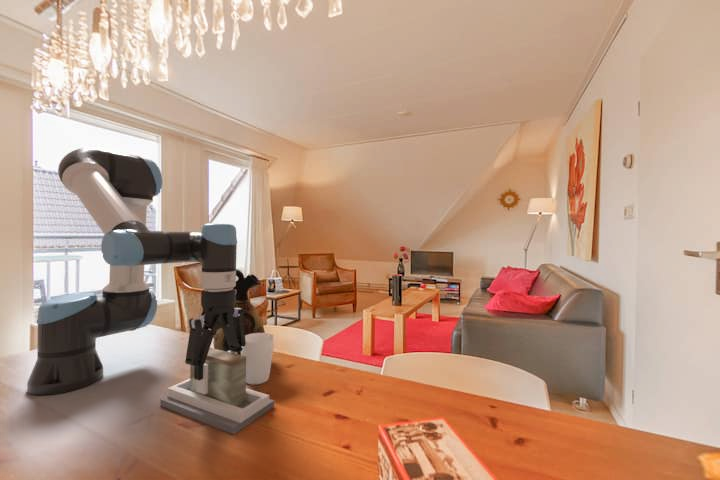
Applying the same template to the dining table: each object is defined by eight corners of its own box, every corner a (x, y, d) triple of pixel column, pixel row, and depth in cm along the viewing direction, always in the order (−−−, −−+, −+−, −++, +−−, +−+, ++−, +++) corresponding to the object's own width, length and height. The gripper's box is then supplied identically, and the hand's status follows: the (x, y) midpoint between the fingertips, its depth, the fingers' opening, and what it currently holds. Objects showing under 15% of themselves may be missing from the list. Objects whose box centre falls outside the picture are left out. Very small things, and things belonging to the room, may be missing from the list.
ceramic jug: (270, 354, 109) (271, 267, 109) (257, 373, 94) (258, 272, 93) (220, 354, 108) (221, 266, 108) (198, 373, 93) (200, 271, 93)
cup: (263, 388, 84) (264, 343, 84) (233, 385, 86) (233, 341, 86) (278, 374, 93) (279, 333, 93) (250, 371, 95) (251, 331, 95)
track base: (160, 405, 75) (160, 391, 75) (204, 384, 86) (204, 372, 86) (233, 434, 65) (234, 417, 65) (273, 406, 75) (274, 392, 75)
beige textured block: (190, 396, 76) (190, 351, 76) (204, 389, 80) (205, 346, 80) (231, 411, 70) (232, 362, 70) (245, 403, 74) (246, 356, 74)
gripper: (189, 297, 64) (188, 409, 64) (261, 284, 83) (260, 371, 83) (166, 294, 67) (164, 400, 68) (240, 282, 86) (239, 366, 86)
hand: (217, 384), depth 75 cm, fingers open, 8 cm apart
